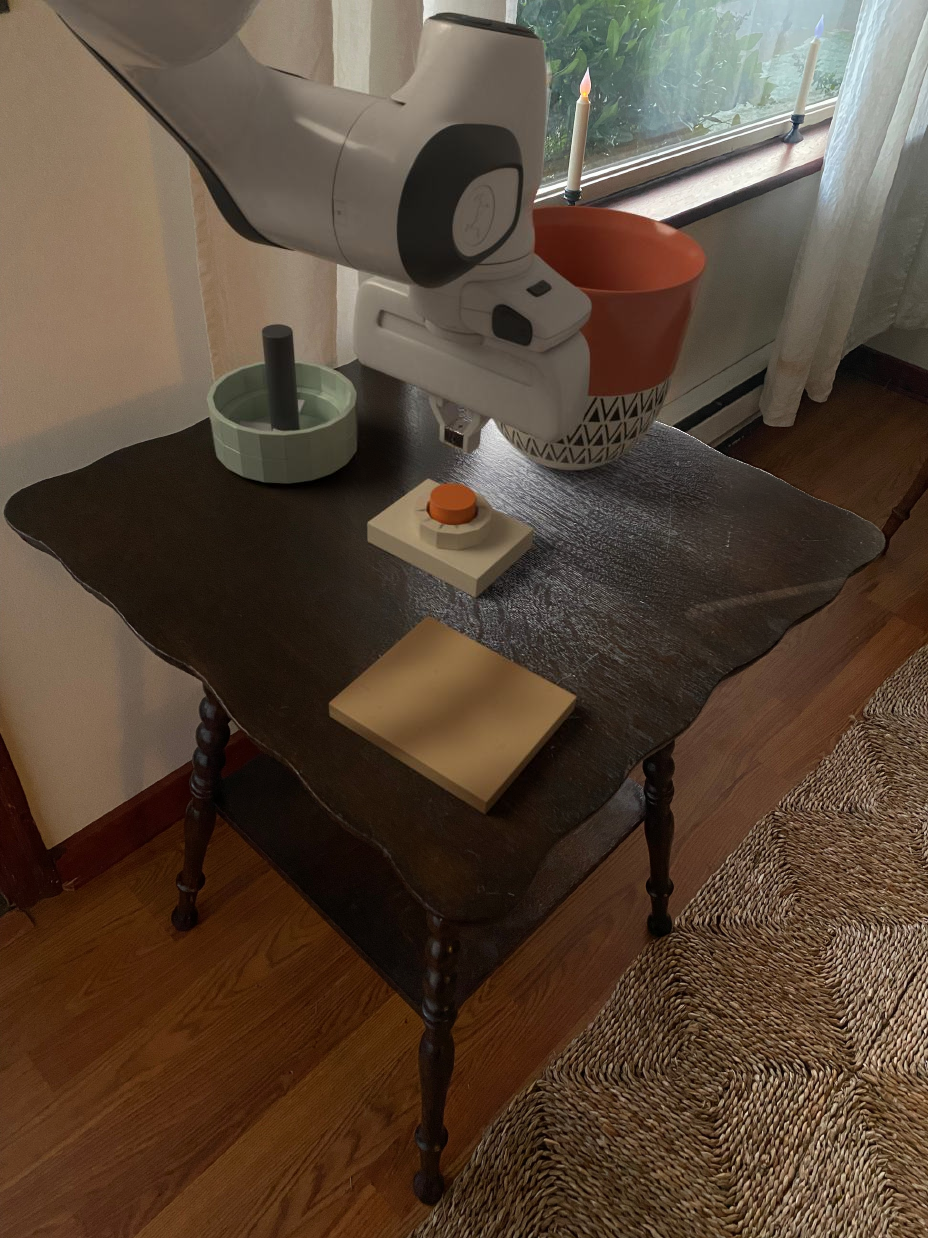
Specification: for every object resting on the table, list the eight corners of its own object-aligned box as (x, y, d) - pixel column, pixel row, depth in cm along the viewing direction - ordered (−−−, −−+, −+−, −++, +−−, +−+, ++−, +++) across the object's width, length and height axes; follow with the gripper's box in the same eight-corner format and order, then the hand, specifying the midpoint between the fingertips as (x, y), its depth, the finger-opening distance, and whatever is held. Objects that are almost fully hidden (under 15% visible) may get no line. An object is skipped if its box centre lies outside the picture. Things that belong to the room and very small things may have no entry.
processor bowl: (185, 451, 90) (175, 397, 85) (284, 397, 98) (280, 346, 94) (290, 506, 84) (285, 452, 80) (385, 443, 93) (385, 391, 89)
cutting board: (329, 716, 66) (328, 703, 65) (427, 628, 73) (428, 614, 72) (485, 815, 61) (487, 802, 60) (574, 709, 68) (577, 696, 67)
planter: (446, 413, 98) (458, 210, 83) (608, 395, 103) (646, 200, 88) (506, 519, 85) (532, 300, 70) (688, 493, 90) (749, 283, 75)
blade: (226, 463, 87) (210, 349, 79) (252, 413, 94) (240, 303, 86) (323, 474, 87) (317, 360, 79) (342, 422, 94) (338, 313, 86)
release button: (420, 514, 79) (420, 497, 77) (447, 493, 81) (448, 477, 80) (457, 532, 77) (458, 515, 76) (483, 510, 79) (485, 494, 78)
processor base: (367, 541, 81) (366, 505, 78) (427, 496, 87) (428, 461, 84) (475, 598, 76) (479, 562, 74) (532, 547, 82) (537, 511, 79)
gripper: (331, 253, 67) (338, 416, 76) (566, 339, 59) (542, 509, 68) (385, 230, 71) (386, 388, 80) (612, 307, 63) (583, 473, 72)
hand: (459, 445), depth 74 cm, fingers closed
